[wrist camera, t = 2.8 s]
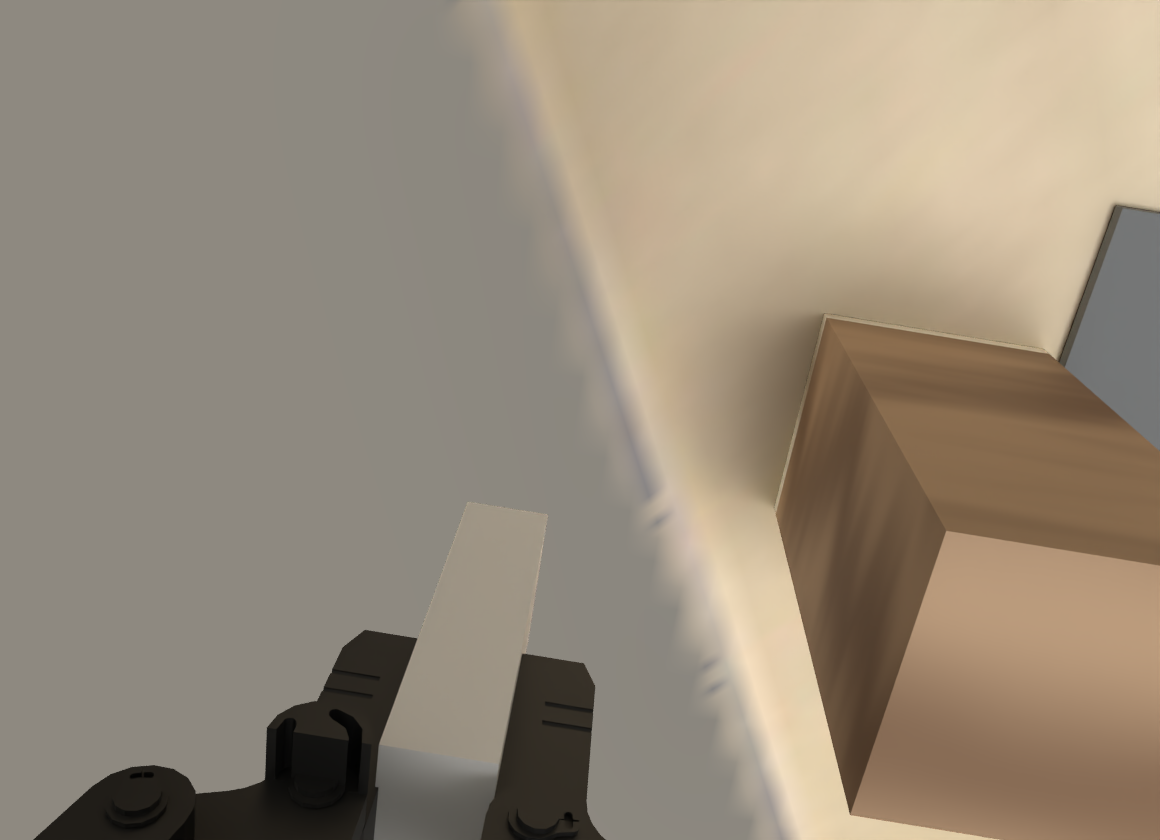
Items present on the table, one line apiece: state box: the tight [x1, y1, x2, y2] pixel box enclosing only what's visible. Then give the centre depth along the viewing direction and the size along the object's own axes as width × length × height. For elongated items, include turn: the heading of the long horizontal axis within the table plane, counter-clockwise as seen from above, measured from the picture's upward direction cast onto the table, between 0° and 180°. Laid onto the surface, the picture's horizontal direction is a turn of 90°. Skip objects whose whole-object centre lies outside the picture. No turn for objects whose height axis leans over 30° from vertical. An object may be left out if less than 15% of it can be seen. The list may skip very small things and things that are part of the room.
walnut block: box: [774, 313, 1160, 840], centre depth 22 cm, size 6×6×12 cm
